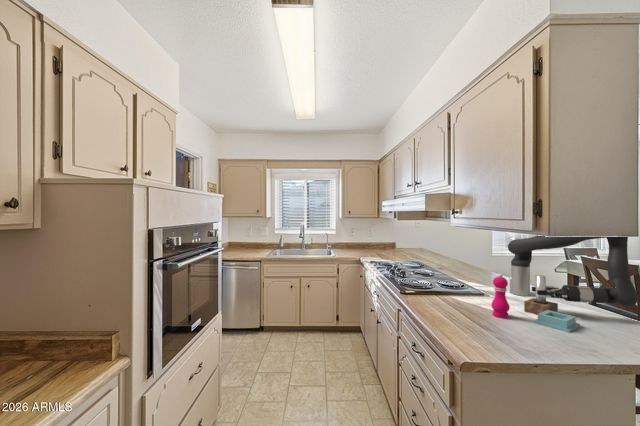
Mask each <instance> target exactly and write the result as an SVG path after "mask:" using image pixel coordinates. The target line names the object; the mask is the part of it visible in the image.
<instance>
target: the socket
mask: <svg viewBox="0 0 640 426" xmlns="http://www.w3.org/2000/svg"><path fill="white" fill-rule="evenodd" d="M576 319H577V318H576V316H574V315H569V314H565V313H561V312H559V311H558V312H554V311H550V310H546V311H544V312H541V313H539V314H538V315H537V319H534V320H533V323H534V324H537V325H541V326H544V327H549V328H551V329H555V330H559V331H563V332H565V333H571V332H572V331H574V330H577V328H579V327H581V326H580V325H581V324H580V323H577V320H576Z"/></svg>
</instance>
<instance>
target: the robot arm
mask: <svg viewBox="0 0 640 426" xmlns="http://www.w3.org/2000/svg"><path fill="white" fill-rule="evenodd" d="M605 238H606V240H607V243H608V256H607V260H606V261H607V262H606V269H607V271H606V272H607V276H608V280H609V282H610V283H611V284H613V285H614V287H615V288H611V287H608V288H607V287H606V288H605V287H604V288H603V287H593V286H583V285H571V284H569V285H568V284H563V285H562V287H561V288H559V287H557V286H552V285H550V286H549V285H546V291H545V290H537V294H538V295H546V297H550V298H553V299H563V300H564V301H565V302H573V303H575V302H576V303H592V304H593V303H594V304H615V305H621V306H625V307H632V306H635V305H636V304H637V303H638V301H639V295H638V293H637V290H636V287H635V286H634V284H633V282H632V279H631V270H630V263H629V255H628V239H629V236H628V237H545V236H538V235H535V236H532V237H528V238H527V237H526V238H517V239H512V240H511V241H510V242H509V243H508V244H507V250H508V251H509V252H510V253H511V254H513V255H514V256H513V258H512V259H511V261H510V268H511V269H510V270H511V271H510V275H511V276H510V277H509V293H510V294H513V295H515V296H521V297H529V296H531V291H532V292H533V293H534V292H535V293H536V286H531V263H532V260H533V259H532V257H533V251H539V250H551V249H560V248H565V247H570V246H574V245H577V244H579V243H581V242H585V241H588V240H589V241H590V240H595V239H605Z"/></svg>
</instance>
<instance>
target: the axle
mask: <svg viewBox="0 0 640 426" xmlns="http://www.w3.org/2000/svg"><path fill="white" fill-rule="evenodd" d="M546 286H547V276H546V275H541V274H536V275H535V287H536V292H535V299H536V303H540V304H544V305H545V304H546V301H547V296H546V295H538V294H537V290H545V291H546Z"/></svg>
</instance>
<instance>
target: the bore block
mask: <svg viewBox="0 0 640 426" xmlns="http://www.w3.org/2000/svg"><path fill="white" fill-rule="evenodd" d="M523 304H524V307H523V308H524V309H523V311H524V312H525V313H526V312H527V313H528V314H529V313H530V314H533V315H537V316H538V314H539V313H541V312H544V311H546V310H550V311H554V312H558V313H559V311H558V310H559V309H558V308H559V306H558V305H559V304H558V303H557V302H553V301H548V300H546V304H545V305H544V304H540V303H536V297H532V298H530V299H527V300H524V302H523Z"/></svg>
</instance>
